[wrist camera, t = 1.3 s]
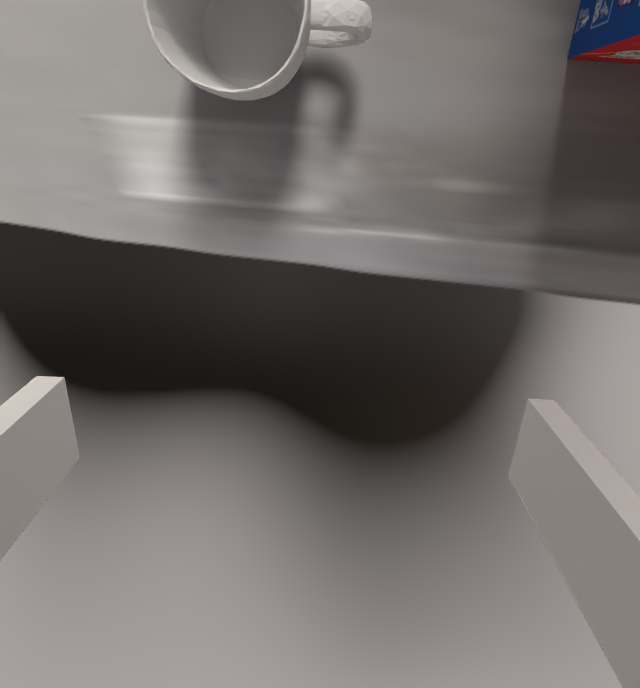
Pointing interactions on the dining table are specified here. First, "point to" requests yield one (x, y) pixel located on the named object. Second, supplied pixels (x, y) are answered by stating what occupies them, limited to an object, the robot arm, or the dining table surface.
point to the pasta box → (607, 31)
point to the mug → (250, 39)
